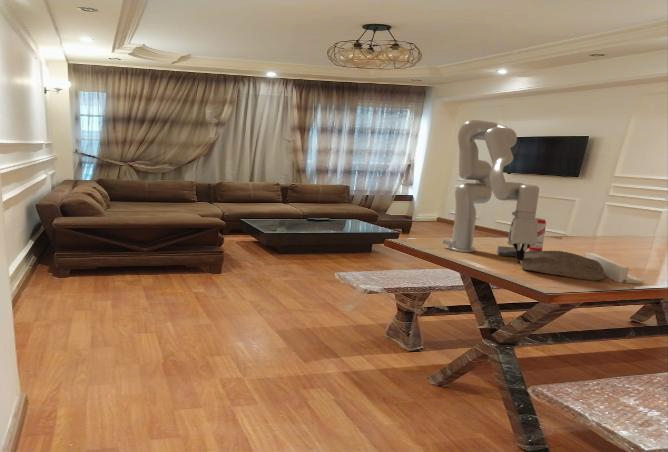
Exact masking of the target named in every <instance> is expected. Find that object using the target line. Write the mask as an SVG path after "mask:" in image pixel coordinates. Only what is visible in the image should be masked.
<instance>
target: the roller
mask: <svg viewBox="0 0 668 452" xmlns="http://www.w3.org/2000/svg"><path fill="white" fill-rule="evenodd" d="M496 250H497V251H496V254H497V255H498V256H499V257H514V258H516V257H515V254H516V249H515V248H514V246H505V245H503V246H501V245H499V246H498V247H497V249H496Z"/></svg>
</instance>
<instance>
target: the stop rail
mask: <svg viewBox="0 0 668 452" xmlns="http://www.w3.org/2000/svg"><path fill="white" fill-rule="evenodd" d="M585 257H586V258H589V259H592V260H596V261H598V262H599V263H600V264H601V265H602V267H603V269H604V272H605V277H606V278H608V279H611V280H613V281H615V282H617V283H622V284H623V283H624V284H625V283H627V284H639V285H640V284H642V285H643V284H644V280H642V279H640V278H638V277H635V276H633V275H631V274H629V269H630V268H629V266H626V265H623V264H621V263H618V262H616V261H613V260H611V259H608V258H606V257H603V256H601V255H599V254H596V253H594V252H586V253H585Z"/></svg>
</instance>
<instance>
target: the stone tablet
mask: <svg viewBox="0 0 668 452" xmlns="http://www.w3.org/2000/svg"><path fill="white" fill-rule="evenodd" d="M519 263H520V266H521V268H522V269H523V270H524V271H530V272H531V271H532V272H535V273H536V272H537V273H542V274H547V275H556V276H561V277H567V278H572V279H573V278H574V279H578V280H585V281H601V280H603V279H605V277H606V276H605V272H604V269H603V267H602V265H601V264H600V263H599V262H598V261H596V260H592V259H589V258H586V256H582V255H579V254H576V253H572V252H567V251H562V250H561V251H560V250H542V251H530V250H528V251H527V250H526V251H525V253H524V258H523V261H521V260H519Z"/></svg>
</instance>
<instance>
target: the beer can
mask: <svg viewBox="0 0 668 452" xmlns="http://www.w3.org/2000/svg"><path fill="white" fill-rule="evenodd" d="M535 220H537V226H538V231H537V242H536V244H535V246H534V247H529V248H528V251H543V248H544V241H545V240H544V239H545V235H546V226H547V222H546V219H545V218H538V217H537V218H536V217H535Z"/></svg>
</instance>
